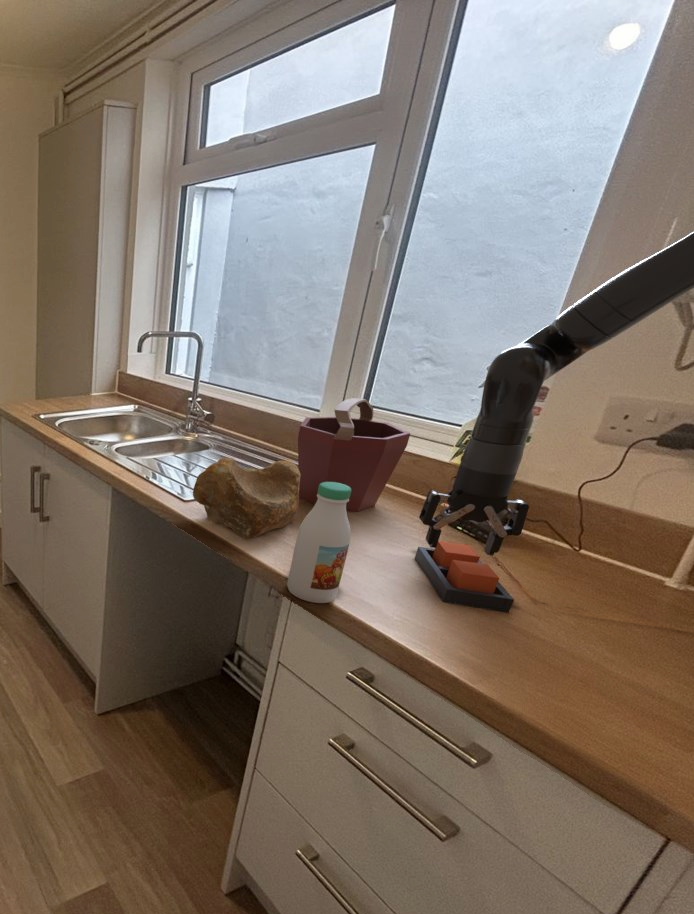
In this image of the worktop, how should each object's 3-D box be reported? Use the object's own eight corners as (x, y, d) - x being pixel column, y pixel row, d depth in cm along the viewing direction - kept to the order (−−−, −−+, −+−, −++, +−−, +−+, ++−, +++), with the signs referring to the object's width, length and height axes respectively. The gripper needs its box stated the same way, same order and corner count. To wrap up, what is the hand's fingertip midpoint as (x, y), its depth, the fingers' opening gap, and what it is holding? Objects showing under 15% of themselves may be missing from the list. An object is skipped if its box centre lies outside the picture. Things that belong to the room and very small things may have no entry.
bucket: (348, 523, 119) (375, 414, 109) (262, 493, 136) (280, 397, 127) (404, 502, 130) (433, 401, 121) (318, 477, 148) (338, 388, 138)
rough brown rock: (211, 550, 109) (227, 485, 102) (182, 513, 124) (193, 453, 117) (316, 547, 111) (338, 483, 104) (275, 511, 126) (291, 453, 119)
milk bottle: (287, 599, 90) (311, 490, 83) (284, 578, 97) (306, 475, 89) (339, 608, 87) (368, 496, 80) (332, 585, 94) (358, 480, 86)
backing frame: (470, 565, 100) (474, 553, 99) (509, 612, 86) (514, 599, 85) (414, 557, 104) (418, 546, 103) (442, 602, 89) (447, 589, 88)
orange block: (462, 566, 99) (469, 544, 97) (472, 578, 95) (480, 556, 93) (430, 561, 101) (437, 540, 99) (438, 573, 97) (446, 552, 95)
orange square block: (478, 586, 92) (487, 564, 91) (490, 601, 88) (499, 578, 86) (444, 581, 94) (452, 559, 92) (454, 595, 90) (462, 572, 88)
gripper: (445, 467, 89) (419, 552, 95) (552, 476, 84) (517, 565, 90) (432, 455, 96) (408, 535, 102) (530, 463, 91) (499, 547, 97)
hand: (459, 549), depth 96 cm, fingers open, 8 cm apart
